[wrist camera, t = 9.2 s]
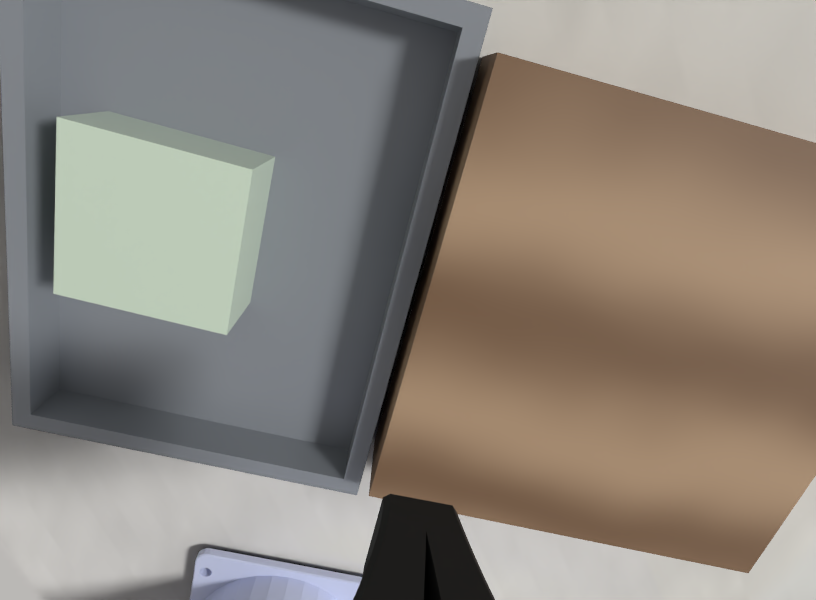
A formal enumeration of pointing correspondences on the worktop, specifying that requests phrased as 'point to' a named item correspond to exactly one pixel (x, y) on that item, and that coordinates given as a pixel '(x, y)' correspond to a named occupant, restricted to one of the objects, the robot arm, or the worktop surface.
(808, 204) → the wooden cutting board
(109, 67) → the tray
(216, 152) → the block
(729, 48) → the worktop surface
